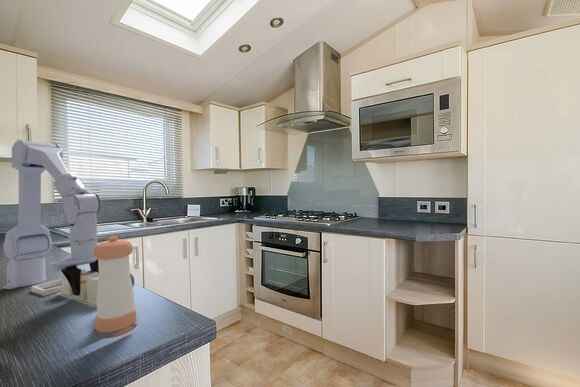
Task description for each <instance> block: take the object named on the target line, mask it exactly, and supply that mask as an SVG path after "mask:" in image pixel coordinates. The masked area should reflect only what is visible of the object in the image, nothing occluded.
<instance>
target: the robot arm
mask: <svg viewBox="0 0 580 387" xmlns="http://www.w3.org/2000/svg"><path fill="white" fill-rule="evenodd" d="M63 151H64V150H63V149H62V147H61V145H60V144H59V143H55V142H54V143H51V142H50V143H48V142H41V141H28V140H23V139H17V140H16V141H15V142H14V143H13V145H12V147H11V167H12V168H13V169H16V170H18V172H17V173H18V224H17V225H15V226H14V227H12V229H10V230H8V231H6V232H5V238H4V241H3V245H2V248H3V249H2V250H3V253H4V255H5V256H6V258H8V259H10V260H9V261H8V262H7V264H6V283H7V284H6V285H4V286H3V289H6V290H11V289H16V288H19V287H27V286H29V287H30V286H35V285H39V284H42V283H43V282H44V283H45V281H46V258H45V256H47V255H48V253H49V252H50V250H51V249H52V246H53V241H52V237H51V231H50V229H49V228H47V227H46V226H44V225H42V224H41V221H42V220H41V219H42V218H41V217H42V216H41V213H42V212H41V208H42V206H41V204H42V203H41V200H42V196H41V195H42V192H41V191H42V190H41V189H42V174H43V173H44V172H45V171H47V172H48V173H49V175H51V177H52V178H53V179H54V181H53V187H54V189H55V190H56V191H57V193H58V194H59V196H60V197H61V198H62V201H63V205H62V206H63V211H64V214H65V216H66V222H67V224H69V235H70V236H69V237H70V238H69V239H70V241H69V242H70V257H69V258H64V259H61V260H58V261H52V262H49V263H48V264H49V272H52V273H55V272H59V271H60V273H61V272H62V273H63V274H64V276H65V277H66V279H67V280H68V282H69V284H70V286H71V289H72V292H73V295H76V296H78V295H80V275H81V269H78V267H79V266H83V265H89V268H90V269H89V270H92V271H96V272H98V275H99V266H98V259H97V258H95V256H94V254H93V251H94V248H95V247H96V245H98V244H99V243H98V224H97V222H98V221H97V220H98V218H97V215H98V214H99V213H100V212H101V209H102V200H101V198H100V196H99V193H97V192H92V191H91V190H88V189H87V188H86V186H85V184H83V182H82V180H80V178H79V177H78V176H77V175H76V174H75V173H70V171H69V169H68V168H67V166H66V164H65V162H64V161H63V158H64V157H63V156H64V152H63Z"/></svg>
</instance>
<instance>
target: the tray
mask: <svg viewBox="0 0 580 387" xmlns="http://www.w3.org/2000/svg"><path fill="white" fill-rule="evenodd" d="M30 287H31V292H32V293H34V294H37V295H39V296H42V297H46V296H50V295H52V294H56V293H60V292H62V282H61V278H60V279H55V280H52V281H48V282H44V283H43V282H42V283H38V284H34V285H30Z"/></svg>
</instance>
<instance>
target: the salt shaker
mask: <svg viewBox="0 0 580 387" xmlns="http://www.w3.org/2000/svg"><path fill="white" fill-rule="evenodd" d="M133 251H134V246H133V244H132V243H131V242H130V240H127V239H122V238H120V239H119V238H118V236H113V235H112V236H110V237H109V238H108V240H104V241H102V242H99V243H98V245H96V247H95V248H94V251H93V254H94V256H95V258H97V259H98V266H99V283H98V290H97V298H96V303H97V307H96V312H97V313H96V314H95V317H94V319H95V320H94V323H95V324H94V326H95V327H94V328H95V331H96V332H99V333H111V332H115V333H112V334H110V335H107V336H105V337H104V339H109V338H115V337H119V336H122V335H126V334H127V333H131V331H133V330H134V329H136V327H137V324H138V323H136V321H137V320H138V319H137V309H136V308H137V307H136V306H135V292H134V286H133V287H132V282H131V278H130V273H131V268H130V267H131V266H130V255H131V254H132V253H133ZM134 323H135V324H134Z"/></svg>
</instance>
